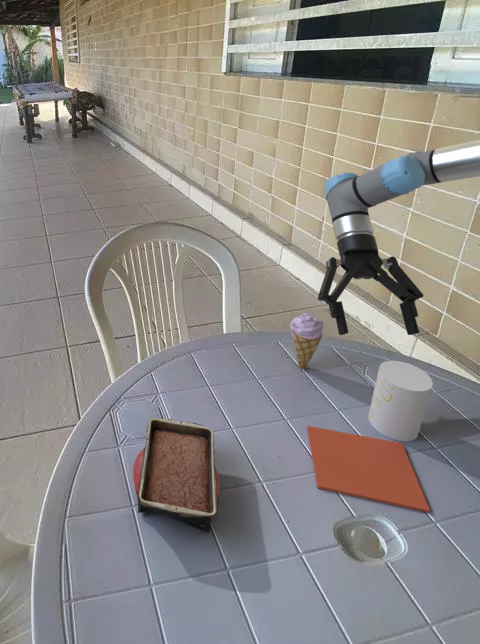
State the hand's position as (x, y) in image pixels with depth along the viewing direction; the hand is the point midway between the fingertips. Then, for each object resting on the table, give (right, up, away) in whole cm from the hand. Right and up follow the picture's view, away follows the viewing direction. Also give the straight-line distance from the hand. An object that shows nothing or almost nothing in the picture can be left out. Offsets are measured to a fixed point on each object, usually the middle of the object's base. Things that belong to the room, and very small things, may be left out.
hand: (378, 334), depth 87 cm
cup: (0, -17, -4) cm, 17 cm away
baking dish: (-45, -23, -14) cm, 52 cm away
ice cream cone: (-10, -11, +12) cm, 19 cm away
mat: (-11, -20, -12) cm, 26 cm away
